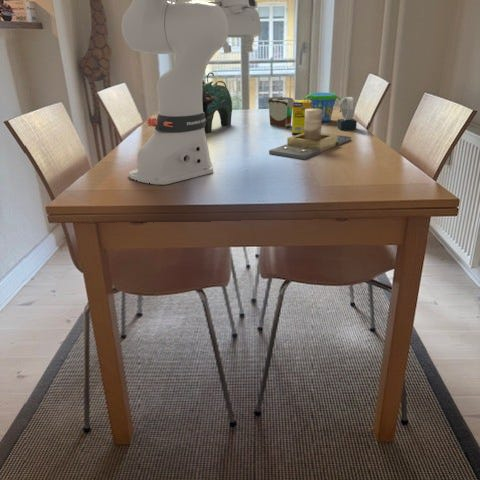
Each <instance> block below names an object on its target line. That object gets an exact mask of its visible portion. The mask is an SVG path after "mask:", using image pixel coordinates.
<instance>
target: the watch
mask: <svg viewBox="0 0 480 480" xmlns="http://www.w3.org/2000/svg"><path fill="white" fill-rule="evenodd" d="M338 106H339V107H340V109H341V116H342V118H338V119H337V129H338V130H340V131H356V130H357V124H358V123H357V122H358V120H356V119H355V118H354V115H355V98H354V97H352V96H345V97H343V98H341V101H340V100H339V102H338Z"/></svg>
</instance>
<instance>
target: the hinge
mask: <svg viewBox="0 0 480 480" xmlns="http://www.w3.org/2000/svg"><path fill="white" fill-rule="evenodd" d="M351 141H352V136H348V135H338V134H329V133H322V132H321V140H318V141H316V140H308V139H304V133H301V134H298V135H291V136H290V137H287V141H286V142H287V143H286V144H284V145H281V146H277V147H275V148H272V149H269V150H268V154H269V155H274V156H280V157H281V156H282V157H286V158H287V157H288V158H292V159H293V158H294V159H298V160H307V159H309V158H311V157H315V156H316V155H319V154H321V153H322V152H323V151H326V150H329V149H331V148H333V147H336V146H341V145H344V144H345V143H347V142H351Z"/></svg>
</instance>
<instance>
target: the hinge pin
mask: <svg viewBox="0 0 480 480" xmlns="http://www.w3.org/2000/svg"><path fill="white" fill-rule="evenodd" d="M322 123H323V122H322V109H305V126H304V139H308V140H316V141H318V140H321V133H322Z"/></svg>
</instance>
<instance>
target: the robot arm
mask: <svg viewBox="0 0 480 480" xmlns="http://www.w3.org/2000/svg"><path fill="white" fill-rule="evenodd" d="M257 8H258V2H257V0H214V1H211V0H210V1H202V0H201V1H200V0H196V1H194V0H193V1H192V0H190V1H176V2H175V1H170V0H131V3H130V5H129V7H127V9H126V10H125V12H124V14H123V16H122V21H121V33H122V35H123V39H124V42H125V44H127V46H128V47H129V48H130V49H131V50H132V51H135V52H138V53H144V54H149V55H175V61H174V65H173V67H172V68H170V69H169V70H168V71H166V72H164V73H163V74H162V75H161V76H160V77H159V78H158V80H157V83H156V95H157V104H158V105H157V106H158V114H157V117H156V118H154V117H153V118H152V117H148V118H147V120H146V122H145V123H146V125H147V126H149V127H153V128H154V129H155V130H154V132H153V133H152V134H151V136H150V137H149V138H148V140H147V141H146V142H145V143H144V144H143V145H142V147H140V149H139V150H138V152H137V158H136V166H137V167H136V169H133V170H131V171H129V172H128V177H129V179H131V180H133V179H134V180H133V181H136V180H137V181H136V182H140V183H144V184H149V183H150V184H149V185H169V184H174V183H178V182H181V181H185V180H189V179H193V178H197V177H200V176H206V175H209V174H212V173H214V167H213V164H212V161H211V156H210V151H209V145H208V139H207V136H206V133H205V130H204V127H205V126H206V124H205V121H206V119H205V113H204V112H203V102H202V85H203V80H204V78H205V77H204V75H205V72H206V69H207V67H208V65H209V63H210V61H211V59H212V58H213V57H214V55H215V54H217V53H218V51H220V50H221V49H222V48H223V53H224V54H230V53H232V45H229V43H228V41H227V39H228V38H235V39H236V38H237V39H238V38H241V39H242V38H243V39H244V38H245V42H247V44H246V46H245V47H244V49H245V53H248V54H249V53H250V54H251V53H253V51H254V48H253V44H254V41H255V38H256V37H258V36H261V33H262V25H261V18H260V13H259V11H258V9H257Z"/></svg>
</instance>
